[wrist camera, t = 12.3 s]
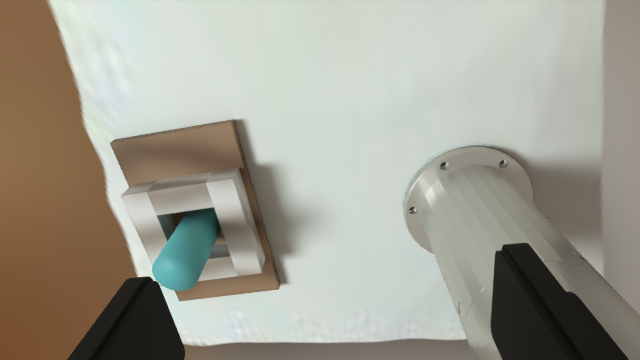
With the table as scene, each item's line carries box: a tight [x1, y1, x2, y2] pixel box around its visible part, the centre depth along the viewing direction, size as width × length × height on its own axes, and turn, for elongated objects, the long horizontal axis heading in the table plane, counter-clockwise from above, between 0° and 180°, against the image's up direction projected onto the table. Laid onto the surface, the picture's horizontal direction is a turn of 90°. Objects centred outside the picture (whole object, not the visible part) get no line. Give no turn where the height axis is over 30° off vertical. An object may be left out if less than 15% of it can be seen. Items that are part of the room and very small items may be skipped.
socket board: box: [110, 120, 280, 301], centre depth 40 cm, size 20×12×4 cm, turn 10°
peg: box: [152, 208, 222, 291], centre depth 37 cm, size 4×4×8 cm
